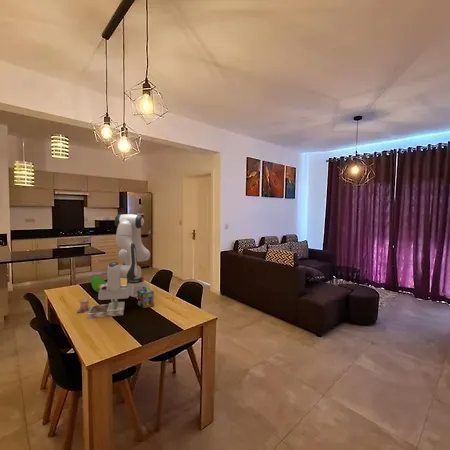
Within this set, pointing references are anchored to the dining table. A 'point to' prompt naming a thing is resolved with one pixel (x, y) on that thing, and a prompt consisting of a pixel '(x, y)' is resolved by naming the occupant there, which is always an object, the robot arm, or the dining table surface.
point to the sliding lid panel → (116, 306)
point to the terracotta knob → (84, 304)
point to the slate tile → (83, 311)
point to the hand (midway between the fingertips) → (114, 304)
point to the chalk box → (145, 298)
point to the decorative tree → (97, 283)
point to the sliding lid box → (102, 311)
